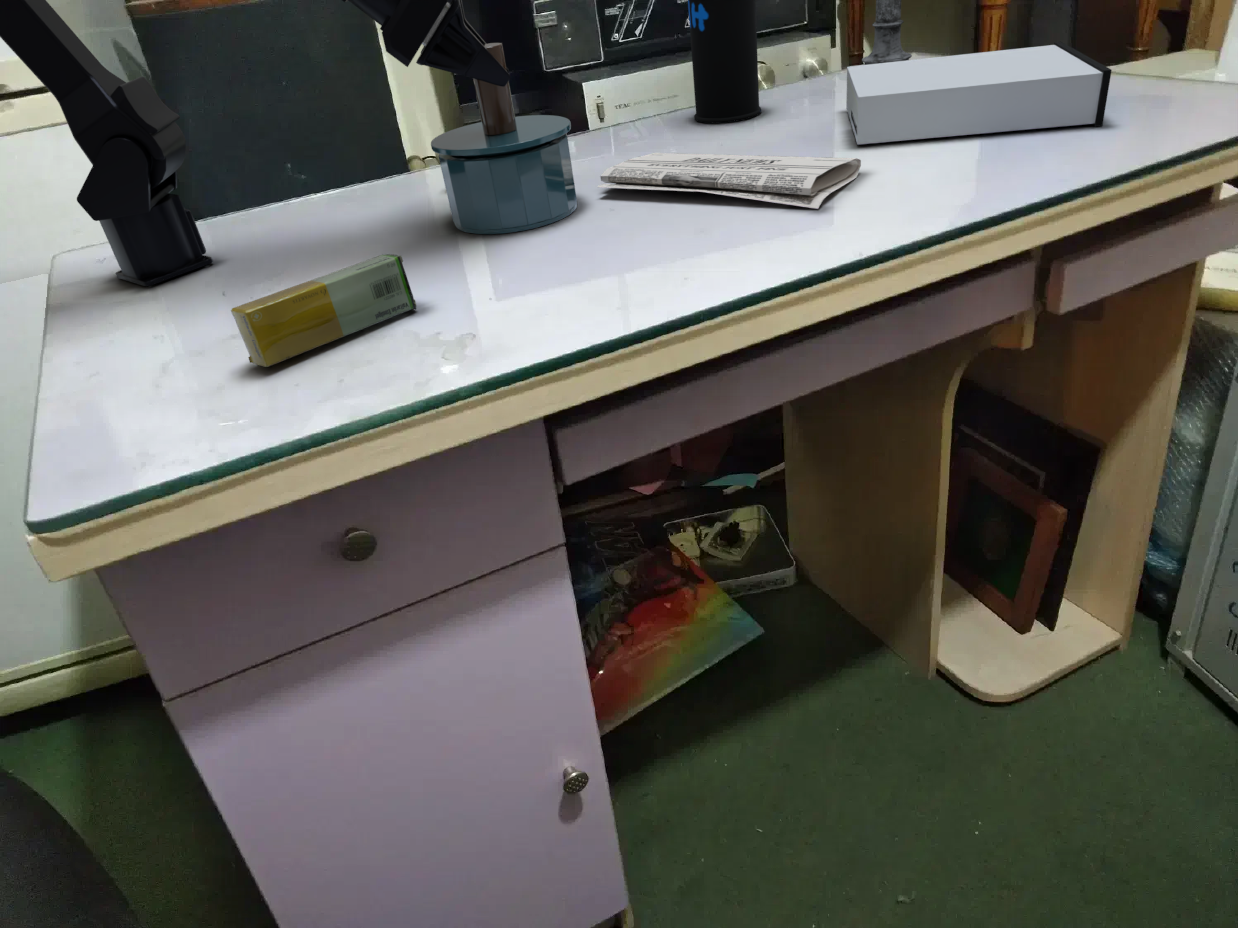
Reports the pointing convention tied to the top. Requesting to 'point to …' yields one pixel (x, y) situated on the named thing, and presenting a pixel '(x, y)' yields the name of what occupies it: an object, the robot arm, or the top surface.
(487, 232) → the canister
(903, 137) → the disc drive
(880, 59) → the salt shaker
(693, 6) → the aerosol can
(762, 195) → the newspaper
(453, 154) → the lid
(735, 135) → the top surface
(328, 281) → the medication box
